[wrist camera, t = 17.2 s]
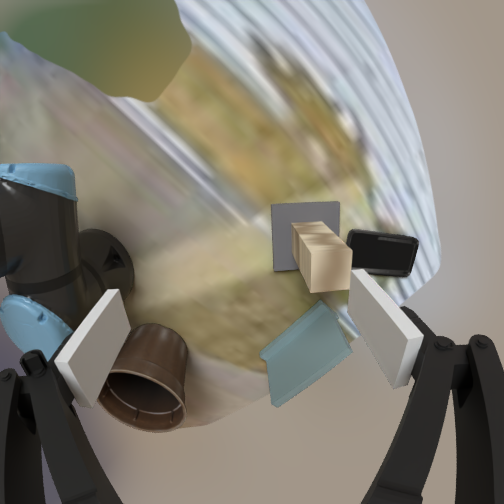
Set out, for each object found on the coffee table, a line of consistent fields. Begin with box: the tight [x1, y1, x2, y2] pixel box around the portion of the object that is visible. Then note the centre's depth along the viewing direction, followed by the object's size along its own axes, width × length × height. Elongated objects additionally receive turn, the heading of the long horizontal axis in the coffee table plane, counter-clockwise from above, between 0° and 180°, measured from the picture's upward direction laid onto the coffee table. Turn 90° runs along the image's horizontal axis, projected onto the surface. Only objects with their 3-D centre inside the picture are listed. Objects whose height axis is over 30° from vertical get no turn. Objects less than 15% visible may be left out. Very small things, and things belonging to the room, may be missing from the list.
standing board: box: [260, 300, 353, 407], centre depth 48 cm, size 5×16×13 cm, turn 137°
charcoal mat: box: [271, 201, 340, 271], centre depth 47 cm, size 11×11×1 cm
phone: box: [346, 229, 419, 277], centre depth 49 cm, size 8×1×15 cm
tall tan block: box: [291, 221, 352, 293], centre depth 40 cm, size 5×5×14 cm
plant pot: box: [97, 324, 187, 433], centre depth 47 cm, size 16×16×16 cm
